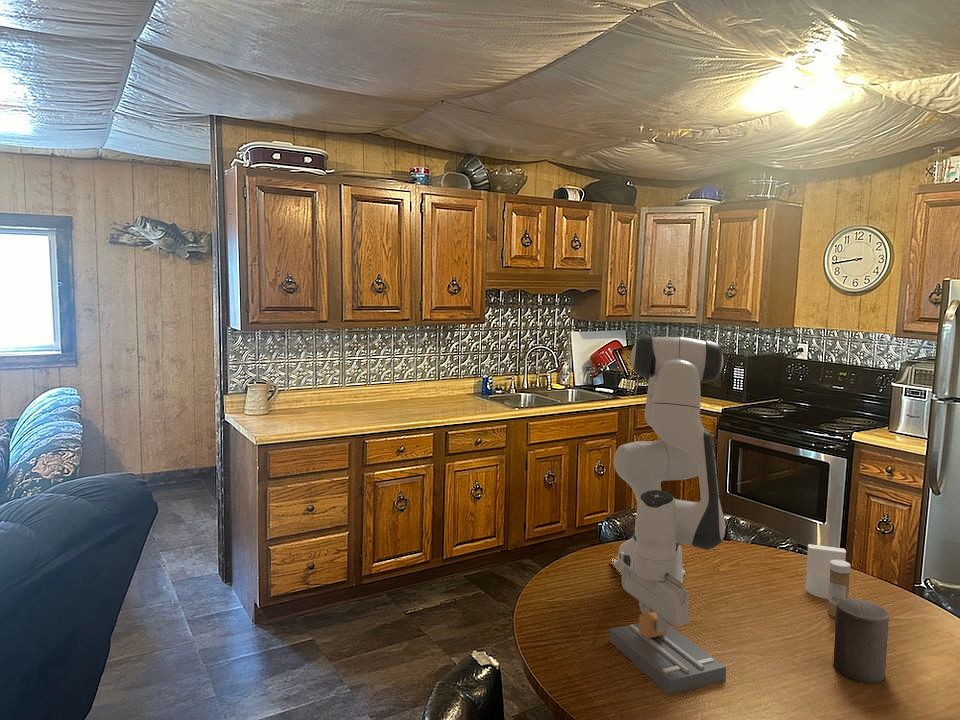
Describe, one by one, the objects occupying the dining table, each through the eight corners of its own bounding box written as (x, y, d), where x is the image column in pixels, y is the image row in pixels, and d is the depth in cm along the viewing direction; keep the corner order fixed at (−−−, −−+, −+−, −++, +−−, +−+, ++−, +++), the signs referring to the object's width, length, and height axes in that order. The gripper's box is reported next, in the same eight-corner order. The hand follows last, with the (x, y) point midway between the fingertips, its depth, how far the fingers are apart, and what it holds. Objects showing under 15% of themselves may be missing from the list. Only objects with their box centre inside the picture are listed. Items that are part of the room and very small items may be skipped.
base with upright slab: (806, 595, 177) (809, 551, 176) (804, 582, 185) (806, 540, 184) (845, 601, 174) (848, 556, 172) (841, 587, 182) (843, 544, 181)
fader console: (608, 641, 153) (609, 626, 153) (660, 630, 158) (660, 616, 158) (669, 695, 133) (669, 677, 132) (725, 680, 138) (726, 663, 137)
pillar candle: (826, 671, 141) (830, 602, 140) (840, 653, 148) (844, 588, 147) (879, 689, 135) (883, 618, 133) (890, 669, 142) (895, 601, 140)
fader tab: (639, 635, 150) (639, 614, 149) (657, 631, 151) (658, 610, 151) (647, 641, 147) (647, 620, 146) (666, 637, 149) (666, 616, 148)
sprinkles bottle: (851, 616, 166) (854, 563, 164) (841, 621, 163) (844, 567, 162) (833, 608, 169) (836, 557, 168) (823, 613, 167) (826, 561, 166)
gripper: (697, 582, 139) (695, 646, 140) (640, 547, 158) (638, 604, 159) (672, 587, 137) (670, 652, 138) (617, 551, 156) (615, 608, 157)
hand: (652, 626), depth 149 cm, fingers closed on fader tab, 3 cm apart
